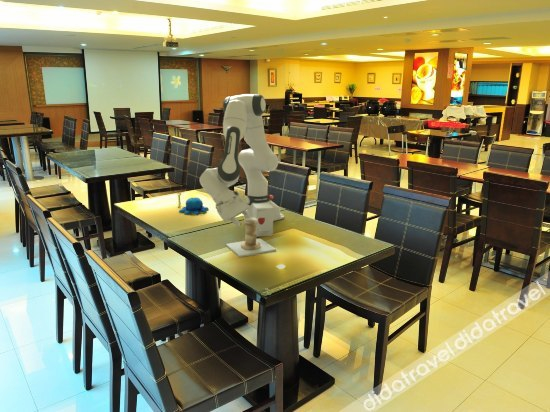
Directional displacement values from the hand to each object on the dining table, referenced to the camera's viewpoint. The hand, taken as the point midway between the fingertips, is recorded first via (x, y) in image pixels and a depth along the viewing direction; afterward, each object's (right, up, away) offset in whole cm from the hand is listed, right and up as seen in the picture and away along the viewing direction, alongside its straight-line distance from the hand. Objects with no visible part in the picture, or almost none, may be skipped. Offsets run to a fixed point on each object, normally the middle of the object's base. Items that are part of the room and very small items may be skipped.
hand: (244, 222), depth 193 cm
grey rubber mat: (+3, -12, +2) cm, 13 cm away
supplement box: (+8, -7, +22) cm, 24 cm away
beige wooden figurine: (+3, -11, +2) cm, 12 cm away
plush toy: (-35, +4, +60) cm, 69 cm away
